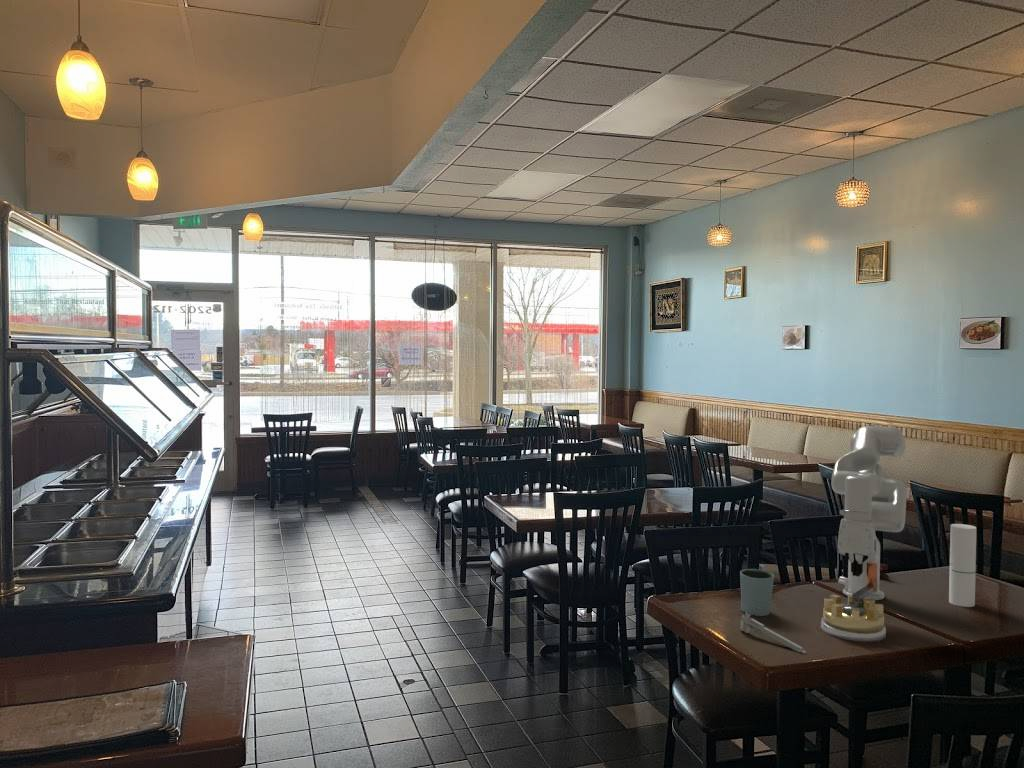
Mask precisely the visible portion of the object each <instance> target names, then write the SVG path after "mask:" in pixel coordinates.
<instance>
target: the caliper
mask: <svg viewBox="0 0 1024 768" xmlns="http://www.w3.org/2000/svg"><path fill="white" fill-rule="evenodd" d="M751 616H752V615H751V614H748V613H747V612H745V613H744V614H742V615H741V618H740V622H739V623H740V632H741V631H745V634H746V633H749V634H750V633H751V631H752V629H753V631H754V632H755V633H758V634H759V635H762V634H765V635H766V636H767V637H769V638H772V639H774V640H775V641H777V642H778V643H780V644H782V645H785V646H786V647H787V648H789V649H791V650H793V651H794V652H798V653H801V654H803V655H805V654H808V652H807V650H805V649H804V648H803V646H801V645H798V644H797V643H795V642H794V641H791V640H789V639H788V638H786V637H784V636H782V635H780V634H779V633H776V632H775V631H773V630H771V629H770V628H768V627H766V626H765V624H763V623H761V622H759V621H758V620H756V619H755V618H752V617H751ZM746 625H747V626H746Z"/></svg>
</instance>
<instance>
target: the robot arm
mask: <svg viewBox="0 0 1024 768" xmlns="http://www.w3.org/2000/svg"><path fill="white" fill-rule="evenodd" d="M849 445H850V447H849V448H850V452H848V453H846V454H844V455H843V456H842V457H839V458H838V460H836V462H835V464H834V466H833V469H832V470H833V471H832V475H831V478H830V479H831V482H830V484H831V488H832V490H833V492H834V493H835V494H838V495H844V508H843V509H840V510H839V515H842V516H843V518H841V520H840V524H839V530H838V537H837V548H838V550H837V553H839V554H840V555H841V556H842V555H843V556H845V557H846V558H847V559H848V561H847V562H848V565H847V568H848V569H847V576H848V577H846V576H842V575H841V576H839V578H838V580H837V583H838V584H841V585H844V587H843V588H842V593H843V594H844V595H845V596H847V597H848V594H850V595H852V594H854V593H856V592H857V591H859V590H860V589H862V588H863V587H865V586H866V572H867V562H874V563H877V564H878V571H877V591H876V592H873V593H871V594H870V595H868V596H867V597H865V599H867V598H871V599H874V600H875V601H881V600H883V599H885V593H884V592H883V591H882V590H880V578H881V577H880V563H881V542H880V541H879V539H878V537H877V536H876V532H878V531H879V532H884V533H885V532H887V533H900V532H902V531H903V530H904V527H905V524H906V515H907V514H906V513H907V511H906V510H907V488H906V485H905V483H904V482H903V480H900V479H897V478H889V477H884V469H883V467H882V466H881V465H880V458H881V457H889V458H890V457H891V458H900V457H902V456H903V455H904V454H905V450H906V439H905V436H904V434H903V431H902V430H901V429H900V428H897V427H894V426H883V425H882V426H881V425H880V426H879V425H866V426H865V425H864V426H861V427H859V428H858V429H857V430H856V431H855V433H853V434H852V435H851V438H850V442H849Z"/></svg>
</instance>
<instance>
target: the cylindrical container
mask: <svg viewBox="0 0 1024 768" xmlns="http://www.w3.org/2000/svg"><path fill="white" fill-rule="evenodd" d="M949 528H950V529H949V530H950V534H949V538H950V539H949V541H950V543H949V546H950V547H949V574H948V575H949V579H948V580H949V583H948V584H949V585H948V587H949V588H948V602H949V603H950V605H954V606H957V607H963V608H972V607H975V605H976V603H975V602H976V570H977V569H976V561H977V527H976V526H975V525H970V524H963V523H951V524H950V527H949Z"/></svg>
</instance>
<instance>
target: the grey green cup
mask: <svg viewBox="0 0 1024 768" xmlns="http://www.w3.org/2000/svg"><path fill="white" fill-rule="evenodd" d="M739 578H740V581H739V582H740V596H741V599H740V609H741V612H742V611H743V612H742V613H744V612H747V613H748V614H751V615H750V616H753V615H755V617H764V616H769V615H770V614H771V609H772V608H771V607H772V597H773V594H772V592H773V588H774V583H775V582H774V580H775V574H774V573H772V572H770V571H768V570H763V569H757V568H745V569H742V570H740V571H739Z"/></svg>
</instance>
